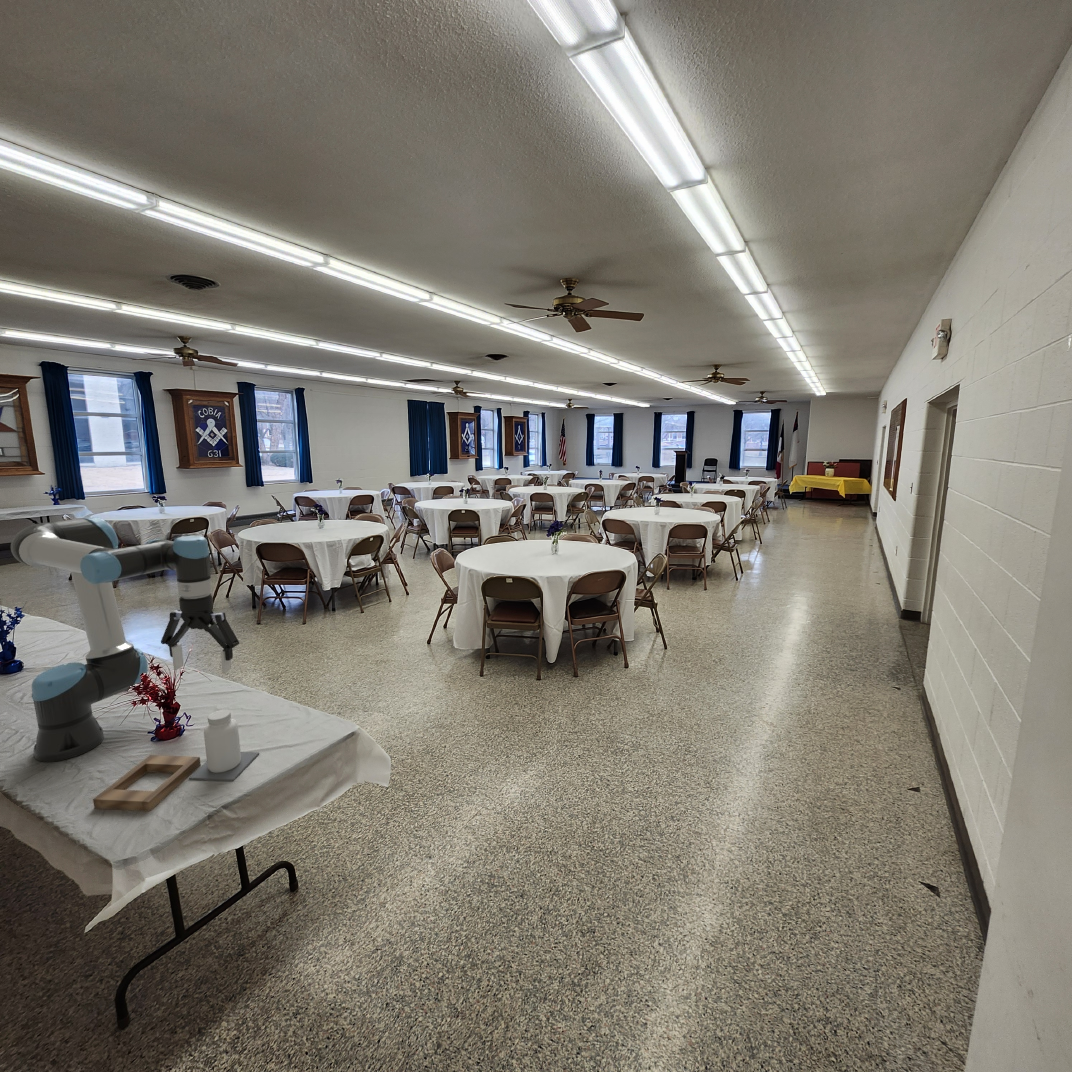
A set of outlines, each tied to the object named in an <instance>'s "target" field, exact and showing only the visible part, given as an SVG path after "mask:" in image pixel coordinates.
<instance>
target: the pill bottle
mask: <svg viewBox="0 0 1072 1072" xmlns="http://www.w3.org/2000/svg"><path fill="white" fill-rule="evenodd" d="M207 723H208V724H207V725H206V726H205V727H204V729H203V736H204V737H203V739H204V746H205V753H206V761H207V766H208V769H209V770H210V771H211V772H215V773H220V772H225V771H228V770H231V769H233V768H234V767H236V766H237V765H238V764H239V763H240V761H241V752H242V751H241V744H240V743H241V742H240V735H239V734H240V733H239V724H238V722H237V720H236V719H234V718H233V717H232V712H231V711H230V710H229V709H219V710H216V711H213V712H212V713H210V714H208V716H207Z"/></svg>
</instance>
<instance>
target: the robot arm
mask: <svg viewBox="0 0 1072 1072" xmlns="http://www.w3.org/2000/svg"><path fill="white" fill-rule="evenodd" d="M118 545H119V539H118V536H117V533H116V531H115V529H114V528H113V526H112V525H111V524H110V523H108V521H106V520H105V519H103V518H101V517H100V518H99V517H81V518H74V519H73V518H72V519H66V520H59V521H58V520H57V521H51V522H50V521H49V522H39V523H36V524H32V525H29V526H26V527H25V528H23V529H21V530H20V531H19V532H17V534H15V536H14V537H13V538H12V540H11V542H10V551H11V554H12V555H13V557H14V558H15V559H16V560H17V561H18V562H20V563H21V564H23V565H26V566H30V567H34V568H46V567H51V568H52V567H53V568H57V569H61V570H65V571H68V572H69V573H70V575H71V577H72V581H73V585H74V590H75V595H76V598H77V603H78V606H79V610H80V613H81V618H82V622H83V625H84V630H85V634H86V638H87V642H88V645H89V651H88V652H87V654H86V655H85V662H86V664H84V663H82V662H79V661H78V662H75V661H74V662H68V663H65V664H60V665H56V666H53V667H52V668H48V669H47V670H45V671H43V672H41V673H40V674H37V676H36V677H35V678H34V679H33V681H32V682H31V699H32V702H33V706H34V711H35V716H36V722H37V726H38V730H37V734H36V735H37V736H36V741H35V744H34V747H33V755H34V756H33V757H34V758H35V760H36V761H39V762H42V763H44V762H46V763H52V762H59V761H63V760H68V759H72V758H74V757H77V756H78V757H79V756H80V755H83V754H85V753H87V752H90V751H92V750H93V749H95V748H96V747H97V746H99V745H100V744H102V742H103V741H104V738H105V734H104V730H103V728H102V726H100V723H99V722H98V720H97V719H96V718H95V716H94V715H93V710H92V705H94V704H96V703H97V702H100V701H103V700H106V699H108V698H110V697H113V696H116V695H118V694H121V693H124V692H128V691H130V690H129V687H130V686H133V685H135V684H137V683H140V682H141V676H140V674H142V673H146V674H147V675H148V670H149V667H148V660H147V657H146V655H144V652H143V651H142V650H141V649H139V648H136V647H134V643H131V642H128V641H127V640H126V636H125V631H124V627H123V623H122V619H121V615H120V611H119V606H118V602H117V599H116V594H115V589H114V587H113V586H114V585H113V582H114V581H118V580H122V579H128V578H131V577H137V576H142V575H146V574H151V573H155V572H159V571H163V570H170V571H175V573H176V575H175V576H176V581H177V590H178V591H177V593H178V596H179V598H178V603H179V605H178V606H179V609H175V610H173V611H171V612H169V621H168V623H167V626H166V627H165V630H164V633H163V636H162V637H161V640H160V644H162V645H167V646H168V648H169V655H170V658H172V665H173V670H174V671H177V670H179V669H181V668H182V667H184V666H185V665H184V657H183V656H184V655H183V646H182V643H180V640H182V638H183V637H184V636H185V635H186V633H187V632H188V631H189V630H195V629H197V630H204V631H205V632H206V633H208V634H209V635H210V636H211V637H212V638H213V640H215V641H216V642H217V644H218V645H219V647H221V648H222V649H220V661H221V662H220V663H221V671H222V674H226V673H227V672H229V671H230V670H231V669H232V661H231V660H232V659H233V657H234V654H233V649H234V648H235V647H237V646H238V645H240V641H239V639H238V638H237V636H236V634H235V632H234V630H233V628H232V627H231V626H230V624H229V622H228V620H227V616H226V613H225V612H224V611H221V612H219V613H217V612H216V613H214V610H213V608H214V599H213V597H214V596H213V594H212V592H213V585H212V584H213V583H212V577H211V564H210V563H211V561H210V550H209V546H208V540H207V538H205V537H204V536H201V535H185V536H180V537H177V538H174V540H173V541H172V540H169V539H164V538H162V539H151V540H148V541H147V542H145V543H144V544H140V545H139V544H138V545H134V546H133V545H132V546H128V547H121V548H120V547H119V546H118ZM181 619H182V620H183V623H182V624H181V625H180V627H179V629H178V630H177V628H178V626H179V623H180V620H181ZM176 630H177V631H176Z"/></svg>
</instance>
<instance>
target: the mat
mask: <svg viewBox="0 0 1072 1072" xmlns="http://www.w3.org/2000/svg"><path fill="white" fill-rule="evenodd" d="M259 755H260V752H259V751H258V752H257V751H256V752H255V751H254V752H253V751H241V761H240V763H239V764H238V765H237V766H236V767H234V768H233V769H231V770H228V771H225V772H220V773H215V772H211V771H210V770H209V769H208V766H207V760H206V761H205V762H204V763H203V764H201V765H200V766H199V767H198V768H197V769H196V770H195V771H194V772H193V773H192V774H190V775H189V776H188V779H189V780H196V781H199V780H200V781H217V782H218V781H219V782H220V781H221V782H224V781H225V782H234V781H235V780H236V779H237V778H238V776H240V775H241V774H242V773H243V772H244V771H245V770H246V768H248V766H249V765H250V764H252V762H253V761H254V760H255V759H256V758H257V757H258V756H259Z"/></svg>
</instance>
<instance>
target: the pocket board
mask: <svg viewBox="0 0 1072 1072" xmlns="http://www.w3.org/2000/svg"><path fill="white" fill-rule="evenodd" d="M201 766H202V764H201V758H200V756H189V755H187V756H186V755H185V756H184V755H182V756H181V755H180V756H179V755H163V754H161V755H160V754H158V755H157V754H155V755H154V754H150V755H148V756H146V758H144V759H143V760H141V761H140V762H139V763H138V764H136V766H134V767H133V768H131V769H130V770H129V771H128V772H127V773H125V774H123V776H121V777H120V778H119V779H117V780H115V782H113V783H112V784H110V785H109V786H108V787H107V788H106V789H104V790H102V792H100V793H99V794H97V796H95V797H94V798H92V802H93V808H94V809H95V810H96V809H98V810H100V809H101V810H102V809H103V810H104V809H105V810H121V811H143V812H150V811H152V810H154V808H155V807H156V806H157V805H159V804H160V803H161V802H162V801H164V800H165V798H166V797H167V796H169V795H170V794H171V793H172V792H173V791H174V790H176V788H177V787H179V785H181V784H182V783H183V782H184V781H185V780H186V779H187V778H189V777H190V776H191V775H192V774H193V773H194V772H195V771H197V770H198V769H199V768H200V767H201ZM146 773H160V774H161V773H164V774H166V773H167V774H172V775H170V777H168V778H167V779H166V780H165V781H163V782H162V783H161V784H160V786H157V788H155V789H154V790H140V789H139V790H135V789H128V788H129V787H130V786H132V785H133V784H134V783H135V782H136V781H138V780H139V779H140V778H142V777H143V776H144V775H145V774H146Z"/></svg>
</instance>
